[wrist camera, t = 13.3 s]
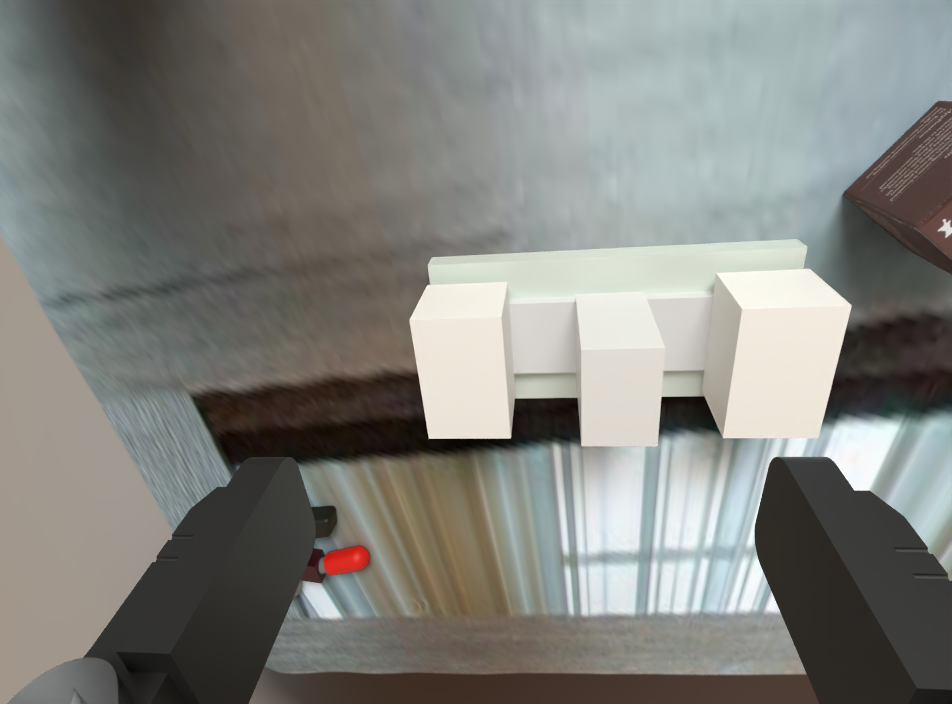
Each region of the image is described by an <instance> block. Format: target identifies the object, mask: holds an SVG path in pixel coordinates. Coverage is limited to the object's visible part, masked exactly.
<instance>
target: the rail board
mask: <svg viewBox="0 0 952 704" xmlns="http://www.w3.org/2000/svg"><path fill="white" fill-rule="evenodd" d="M806 252H807V246H805V245H804V244H803V243H802V242H800V241H799V240H798V239H788V240H768V241H748V242H728V243H708V244H688V245H668V246H648V247H628V248H608V249H588V250H568V251H548V252H528V253H508V254H488V255H468V256H448V257H432V258H431V260H430V262H429V264H428V272H429V279H430V285H427V287H426V289H425V291H424V293H423V295H422V297H421V299H420V300H419V302H418V304H417V306H416V308H415V310H414V312H413V314H412V316H411V318H410V326H411V333H412V339H413V345H414V351H415V357H416V363H417V369H418V375H419V381H420V387H421V393H422V399H423V405H424V412H425V418H426V424H427V430H428V436H429V439H499V438H511V431H512V421H513V411H514V401H515V398H578V396H577V383H576V294H597V293H623V292H644V293H645V296H646V298H647V301H648V304H649V306H650V309H651V311H652V314H653V317H654V319H655V322H656V325H657V327H658V330H659V333H660V335H661V338H662V341H663V343H664V346H665V358H664V370H663V383H662V395H661V397H678V396H705V399H706V401H707V403H708V406H709V408H710V410H711V412H712V415H713V417H714V419H715V422H716V424H717V426H718V428H719V431H720V433H721V435H722V438H818V437H819V433H820V429H821V425H822V421H823V417H824V414H825V410H826V406H827V402H828V398H829V394H830V390H831V386H832V382H833V378H834V374H835V370H836V366H837V362H838V358H839V354H840V350H841V346H842V342H843V338H844V334H845V331H846V327H847V323H848V319H849V315H850V311H851V307H852V305H851V304H850V303H848V302H847V301H846V300H845V299H844V298H843V297H841V296H840V295H839V294H838V293H837V292H836V291H835V290H833V289H832V288H831V287H830V286H829V285H828V284H827V283H825V282H824V281H823V280H822V279H821V278H820V277H818V276H817V275H816V274H815V273H814V272H813V271H812V270H810V269H803V267H804V262H805V257H806Z"/></svg>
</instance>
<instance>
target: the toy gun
mask: <svg viewBox="0 0 952 704" xmlns="http://www.w3.org/2000/svg"><path fill="white" fill-rule="evenodd" d="M311 509H312V512H313V515H314V519H315V525H316V535H315V538H320V537H328V536H329V535H330V534H331V533H332V531H333V528H334V526H335V524H336V521H337V519H336V509H335V507H334V506H323V507H311ZM368 562H369V553H368V551H367V549H366V548H364V547H362V546H354V547H349V548H344V549H340V550H335V551H330V552H328V553H327V554H326V555H325V554H324V552H323V550H321V549H314V548H313V551H312V554H311V557H310V559H309V562H308V564H307V566H306V569H305V571H304V573H303V576H302V578H301V581H300V583H299V585H298V588H297V590H296V592H295V595H294V597H296V596H297V595H298V594H299V593H300V592H301V590H302V581H309V582H316V583H322V582H323V579H324V577H325V574H326V573H327V574H329V575H337V574H342V573H348V572H353V571H358V570H361V569H363V568H365V567H366V566H367V564H368ZM294 597H293V598H294Z"/></svg>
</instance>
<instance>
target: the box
mask: <svg viewBox="0 0 952 704" xmlns="http://www.w3.org/2000/svg"><path fill="white" fill-rule="evenodd" d="M844 195H845V197H846V198H848V199H849V200H850V201H851V202H852V203H854V204H855V205H856V206H857V207H858V208H860V209H861V210H862V211H863V212H864V213H866V214H867V215H868V216H869V217H870V218H872V219H873V220H874V221H875V222H876V223H878V224H879V225H880V226H881V227H883V228H884V229H885V230H886V231H887V232H888V233H890V234H891V235H892V236H893V237H894V238H896V239H897V240H898V241H899V242H900V243H902V244H903V245H904V246H905V247H907V248H908V249H909V250H910V251H911V252H913V253H915V254H916V255H918V256H920V257H922V258H924V259H926V260H927V261H929V262H931V263H933V264H934V265H936V266H937V267H939V268H941V269H943V270H945V271H947V272H949V273H950V274H952V102H949V101H938V102H937V103H936V104H935V105H933V107H932V108H931V109H930V110H929V111H928V112H927V113H926V114H924V115H923V116H922V117H921V118H920V119H919V120H918V121H917V122H916V123H915V124H914V125H913V126H912V127H911V128H910V129H909V130H908V131H907V132H906V133H905V134H904V135H903V136H902V137H901V138H900V139H899V140H898V141H897V142H896V143H894V144H893V145H892V146H891V147H890V148H889V149H888V150H887V151H886V152H885V153H884V154H883V155H882V156H881V157H880V158H879V159H878V160H877V161H876V162H875V163H874V164H873V165H872V166H871V167H870V168H869V169H868V170H867V171H866V172H864V173H863V174H862V175H861V176H860V177H859V178H858V179H857V180H856V181H855V182H854V183H853V184H852V185H851V186H850V187H849V188H848V189H847V190H846V191H845V192H844Z"/></svg>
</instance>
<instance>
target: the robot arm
mask: <svg viewBox="0 0 952 704" xmlns="http://www.w3.org/2000/svg"><path fill="white" fill-rule="evenodd" d="M315 535H316V525H315V519H314V515H313V512H312V509H311V505H310V502H309V499H308V496H307V493H306V489H305V486H304V483H303V480H302V477H301V474H300V470H299V467H298V465H297V463H296V461H295V460H294V459H293V458H290V457H251V458H248V459H246V460H245V461H244V462H243V463H242V464H241V466H240V467H239V469H238V470H237V472H236V473H235V475H234V476H233V478H232V479H231V481H230V482H229V484H228V485H227V487H217V488H216V489H214V490H213V491H212V492H211V493H209V494H208V495H207V496H206V497H205V498H203V499H202V500H201V501H200V502H199V503H197V504H196V505H195V506H194V507H192V508H191V509H190V510H189V512H188V513H187V515H186V516H185V517H184V519H183V520H182V522H181V523H180V524H179V526H178V527H177V529H176V530H175V531H174V533H173V534H172V540H168V542H167V543H166V544H165V545H164V547H163V548H162V550H161V551H160V552H159V554H158V555H157V560H156V562H152V564H151V565H150V567H149V568H148V569H147V571H146V572H145V573H144V575H143V576H142V578H141V579H140V580H139V582H138V583H137V585H136V586H135V587H134V589H133V590H132V592H131V593H130V594H129V596H128V597H127V599H126V600H125V601H124V603H123V604H122V605H121V607H120V608H119V610H118V611H117V612H116V614H115V615H114V617H113V618H112V620H111V621H110V622H109V624H108V625H107V627H106V628H105V629H104V631H103V632H102V633H101V635H100V636H99V638H98V639H97V641H96V642H95V643H94V645H93V646H92V647H91V649H90V650H89V651H88V652H87V654H86V655H85V656H84V658H81V659H75V660H72V661H69V662H65V663H63V664H61V665H58V666H56V667H54V668H52V669H50V670H49V671H47V672H45V673H43V674H42V675H40V676H39V677H37V678H36V679H34V680H33V681H32V682H30V683H29V684H28V685H27V686H25V687H24V688H23V689H22V690H21V691H19V692H18V693H17V694H16V695H15V696H14V697H13V698H12V699H11V700H10V701H9V703H8V704H249V701H250V699H251V696H252V694H253V692H254V689H255V687H256V685H257V682H258V680H259V678H260V675H261V673H262V670H263V668H264V666H265V663H266V661H267V659H268V656H269V654H270V652H271V649H272V647H273V644H274V642H275V640H276V637H277V635H278V633H279V630H280V628H281V626H282V623H283V621H284V618H285V616H286V614H287V611H288V609H289V607H290V604H291V602H292V600H293V597H294V595H295V592H296V590H297V588H298V585H299V583H300V581H301V578H302V576H303V573H304V571H305V569H306V566H307V564H308V562H309V559H310V557H311V554H312V551H313V548H314V543H315ZM755 545H756V551H757V555H758V559H759V562H760V565H761V567H762V570H763V572H764V574H765V577H766V579H767V581H768V584H769V586H770V588H771V591H772V593H773V595H774V598H775V600H776V602H777V605H778V607H779V610H780V612H781V614H782V617H783V619H784V621H785V624H786V626H787V628H788V631H789V633H790V635H791V638H792V640H793V642H794V645H795V647H796V650H797V652H798V654H799V657H800V659H801V661H802V664H803V666H804V668H805V671H806V673H807V675H808V677H809V680H810V682H811V685H812V687H813V689H814V692H815V694H816V696H817V699H818V701H819V704H952V581H949V579H948V574H947V572H946V571H945V570H944V568H943V567H942V566H941V564H940V563H939V562H938V560H937V559H936V558H935V556H934V555H933V554H929V553H928V547H927V546H926V545H925V543H924V542H923V541H922V539H921V538H920V537H919V535H918V534H917V533H916V532H915V530H914V529H913V528H912V526H911V525H910V524H909V522H908V521H907V520H906V518H905V517H904V516H903V515H901V514H900V513H899V512H897V511H896V510H895V509H893V508H892V507H891V506H889V505H888V504H887V503H885V502H884V501H883V500H881V499H880V498H879V497H877V496H876V495H875V494H873V493H872V492H871V491H854V490H853V488H852V487H851V485H850V484H849V482H848V481H847V480H846V478H845V477H844V475H843V474H842V472H841V471H840V470H839V468H838V467H837V465H836V464H835V463H834V462H833V461H832V460H831V459H830V458H828V457H775V458H774V459H772V461H771V463H770V465H769V468H768V472H767V477H766V481H765V485H764V489H763V494H762V498H761V502H760V506H759V511H758V515H757V519H756V524H755Z"/></svg>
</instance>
